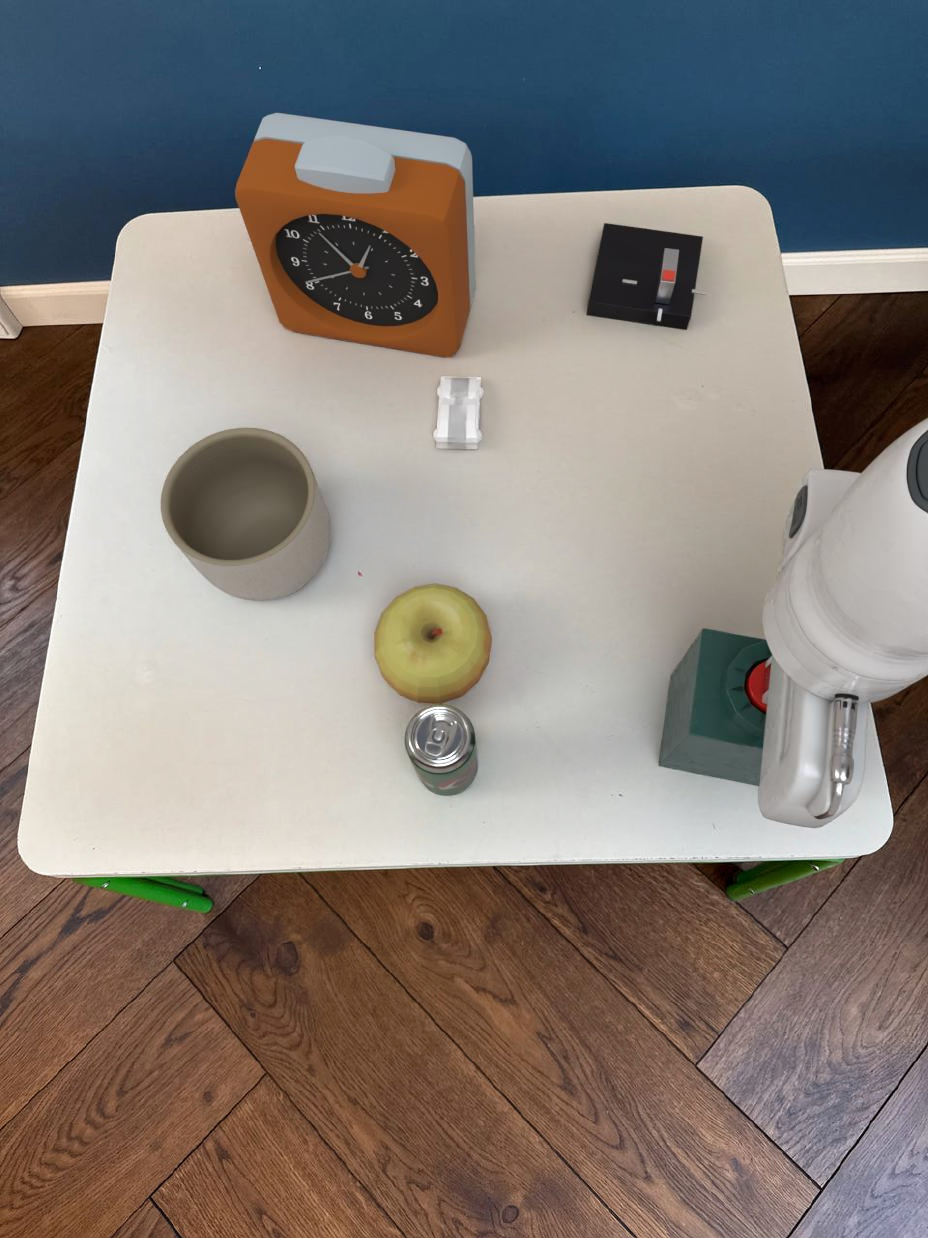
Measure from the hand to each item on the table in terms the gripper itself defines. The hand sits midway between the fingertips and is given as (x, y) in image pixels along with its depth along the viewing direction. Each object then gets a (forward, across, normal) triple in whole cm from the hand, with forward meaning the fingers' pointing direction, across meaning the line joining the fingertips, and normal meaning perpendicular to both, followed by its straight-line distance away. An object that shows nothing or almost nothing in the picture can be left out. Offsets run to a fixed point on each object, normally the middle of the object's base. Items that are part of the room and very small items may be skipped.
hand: (775, 685), depth 59 cm
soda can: (+14, -8, +22) cm, 27 cm away
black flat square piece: (+14, +44, +13) cm, 48 cm away
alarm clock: (+15, +36, +38) cm, 55 cm away
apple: (+15, +2, +25) cm, 29 cm away
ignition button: (+2, 0, 0) cm, 2 cm away
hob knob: (+12, +43, +11) cm, 46 cm away
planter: (+15, +8, +42) cm, 45 cm away
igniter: (+14, 0, 0) cm, 14 cm away
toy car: (+15, +26, +28) cm, 41 cm away
